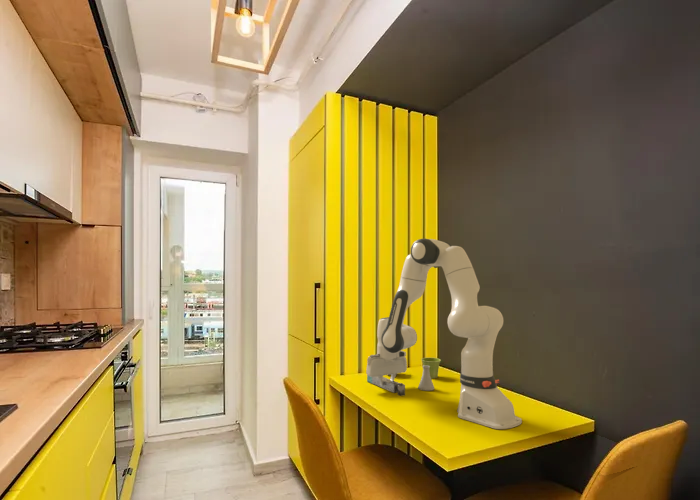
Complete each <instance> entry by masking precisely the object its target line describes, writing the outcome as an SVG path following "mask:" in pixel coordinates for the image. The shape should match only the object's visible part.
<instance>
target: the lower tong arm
mask: <svg viewBox="0 0 700 500" xmlns="http://www.w3.org/2000/svg"><path fill="white" fill-rule="evenodd" d="M377 377H378V376H377ZM382 379H385V380H387V381H390V382H392V383H395V384H397V385H398V384H400V383H401V382H398V381H395V380H394V381H393V380H390V379H389V378H387V377H385V376H383V378H382Z"/></svg>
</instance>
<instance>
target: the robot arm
mask: <svg viewBox="0 0 700 500" xmlns="http://www.w3.org/2000/svg"><path fill="white" fill-rule="evenodd" d="M431 268H435V269H437V268H442V270H443V273H444V276H445V279H446V283H447V285H448V290H449V294H450V297H451V310H450V313H449V315H448V317H447V327H448V330H449V332H451V334H452V335H453V336H455V337H459V338H466V339H467V341H466V343H465V345H464V347H463V348H462V349H461V353H460V360H461V361H460V364H461V365H460V367H461V368H460V369H461V371H460V373H459V379H460V380H459V382H460V385H461V386H460V396H459V402H458V406H457V412H456V413H458V414H457V417H458V418H460V419H462V420H466V421H469V422H472V423H474V424H478V425H481V426H485V427H488V428H492V429H494V430H507V429H512V428H514V427H518V426H520V425H521V424H522V422H523V421H522V420H523V419H522V418H521V417H518V416H517V415H516V414H515V408H514V405H513V403H512V401H510V399H509V398H508V397H507V396H506V395H505V394H504V392H502V390H500V389H499V388H498V383H500V379H496V378H495V376H494V371H493V369H494V368H493V366H494V365H493V363H494V361H493V357H494V349H495V344H496V340H497V336H498V334H499V331H501V329H502V327H503V326H504V316H503V314H502V313H501V311H500V310H499V309H498V308H496V307H493V306H489V305H479V302H478V294H479V292H480V287H481V286H480V284H479V280H478V278H477V275H476V272H475V269H474V267H473V264H472V262H471V259H470V258H469V256H468V254H467V252H466V251H465V249H464V248H463V247H462V246H458V245H452V244H451V243H449V242H446V241H441V240H438V239H433V238H419V239H417V240H415V241H414V242H413V243H412V245H411V247H410V253H409V254H407V256H406V257H405V260H404V262H403V267H402V270H401V275H400V279H399V284H398V285H399V286H398V288H397V291H396V293H395V296H394V298H393V301H392V304H391V308H390V312H389V316H387V317H382V318H380V319H379V320H378V324H377V332H376V334H377V335H376V336H377V345H376V346H377V347H376V354H370V356H368V358H367V361H366V362H367V363H366V364H367V365H366V373H365V374H366V376H367V375H368V376H370V377H376V376H378V379H379V381H380V385H381V386H383V385H385V384H384V383H385V381H383V380H382V378H383V377H384V376H390V375H389V374H391V376H390V380H393V381H395V378H396V376H397V375H396V373H397V374H402V373H406V372H407V369H408V368H407V367H408V364H407V363H408V362H407V358H406V356H407V352H406V351H404V350H406V349H409V348H411V347H413V346H414V345H416V343H417V341H418V335H417V331H416V330H415V329H414V327H412V326H410V325H408V324H406V323H405V324H404V321H405V316H406V314H407V310H408V308H409V307H410V306H411V305H412V304H413V303H414V302H416V301H417V300H418V299H421V297H422V296H423V295H424V292H425V289H426V285H427V279H428V273H429V270H430V269H431Z"/></svg>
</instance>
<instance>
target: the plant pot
mask: <svg viewBox="0 0 700 500" xmlns="http://www.w3.org/2000/svg"><path fill="white" fill-rule="evenodd" d="M441 361H442V360H441V359H440V358H437V357H423V358H421V362H422V367H423V366H430V368H429V373H430V377H431V380H432V379H438V375H439V369H440V363H441Z"/></svg>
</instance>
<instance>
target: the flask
mask: <svg viewBox="0 0 700 500" xmlns="http://www.w3.org/2000/svg"><path fill="white" fill-rule="evenodd" d="M429 368H430V366H423V365H422V374H421V375H422V376H421V380H420V382H419V383H418V384H419V385H418V387H417V389H419V390H420V391H427V392H429V391H430V392H431V391H434V390H435V386H434V383H433V381H432V378H431V377H430V373H429Z"/></svg>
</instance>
